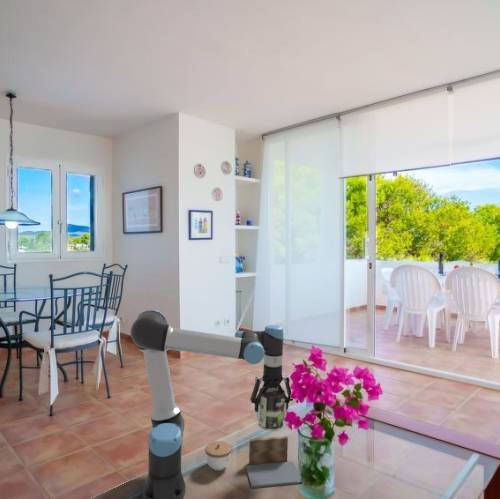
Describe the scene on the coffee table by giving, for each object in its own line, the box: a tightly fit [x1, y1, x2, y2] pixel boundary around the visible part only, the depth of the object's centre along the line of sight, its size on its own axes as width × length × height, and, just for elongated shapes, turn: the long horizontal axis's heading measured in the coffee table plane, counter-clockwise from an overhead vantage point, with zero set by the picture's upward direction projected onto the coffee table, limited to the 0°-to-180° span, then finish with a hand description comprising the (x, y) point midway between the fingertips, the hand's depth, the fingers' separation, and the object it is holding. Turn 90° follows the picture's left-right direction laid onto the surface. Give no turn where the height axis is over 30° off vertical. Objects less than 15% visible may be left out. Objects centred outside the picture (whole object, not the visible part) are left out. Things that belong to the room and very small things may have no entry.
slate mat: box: [245, 461, 299, 489], centre depth 158 cm, size 20×13×1 cm, turn 101°
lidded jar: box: [204, 440, 233, 472], centre depth 163 cm, size 11×11×9 cm
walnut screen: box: [248, 435, 289, 465], centre depth 166 cm, size 16×2×10 cm, turn 101°
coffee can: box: [258, 387, 286, 432], centre depth 162 cm, size 10×10×14 cm
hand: (271, 418), depth 162 cm, fingers closed on coffee can, 10 cm apart
